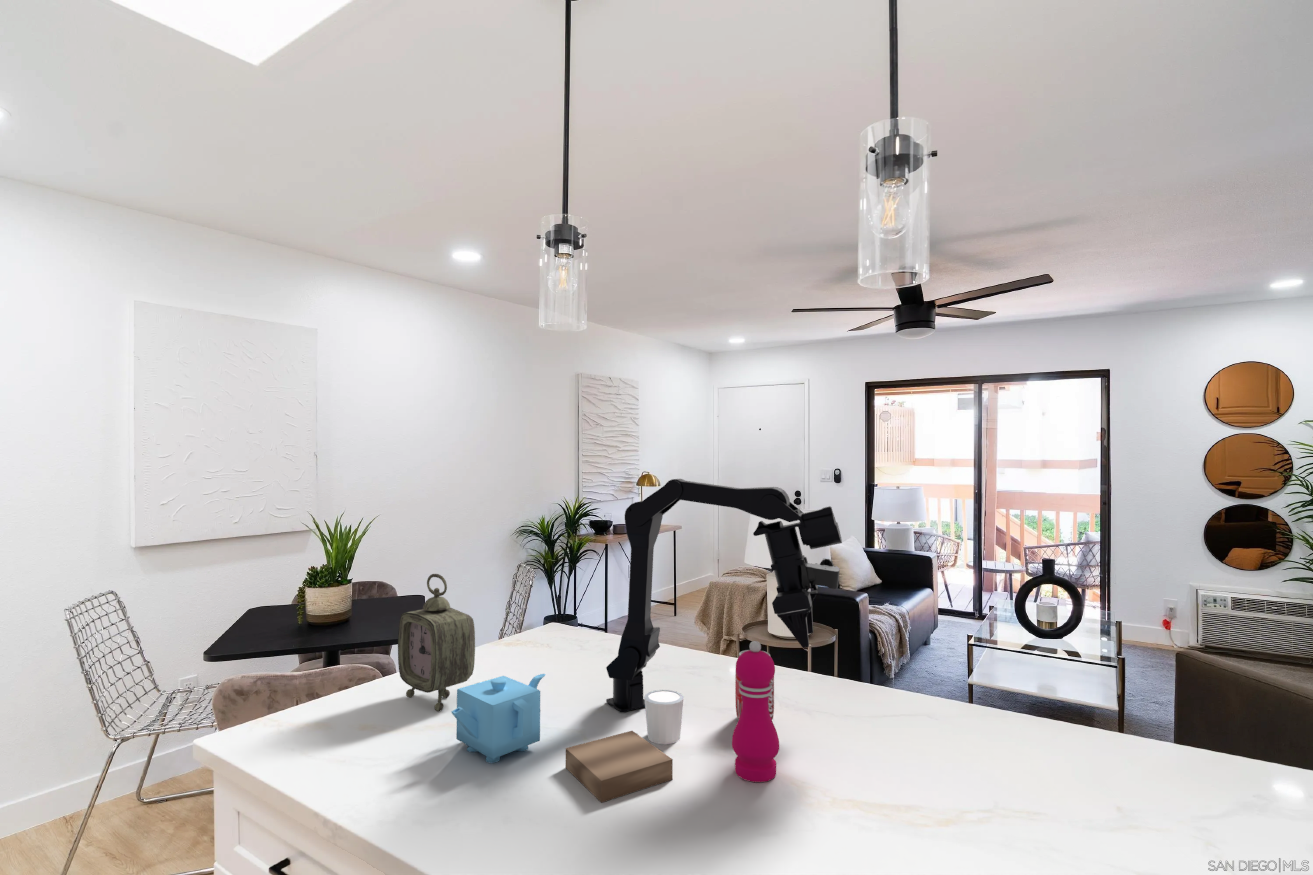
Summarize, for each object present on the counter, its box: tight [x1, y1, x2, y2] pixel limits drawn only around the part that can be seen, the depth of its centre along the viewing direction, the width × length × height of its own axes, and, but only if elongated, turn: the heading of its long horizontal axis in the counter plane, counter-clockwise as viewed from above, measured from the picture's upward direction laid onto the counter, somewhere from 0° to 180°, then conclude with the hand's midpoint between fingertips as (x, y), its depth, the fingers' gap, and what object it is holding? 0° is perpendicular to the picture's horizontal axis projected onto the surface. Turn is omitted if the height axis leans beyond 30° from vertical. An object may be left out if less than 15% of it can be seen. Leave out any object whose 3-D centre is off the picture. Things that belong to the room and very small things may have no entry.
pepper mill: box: [731, 640, 780, 783], centre depth 99 cm, size 7×7×20 cm
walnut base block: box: [565, 730, 674, 803], centre depth 98 cm, size 12×12×3 cm
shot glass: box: [643, 689, 685, 745], centre depth 111 cm, size 7×7×7 cm
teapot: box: [450, 673, 546, 764], centre depth 107 cm, size 16×18×11 cm
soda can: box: [734, 649, 775, 720], centre depth 118 cm, size 7×7×12 cm
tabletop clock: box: [397, 573, 476, 712], centre depth 128 cm, size 14×9×25 cm, turn 49°
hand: (808, 640), depth 116 cm, fingers open, 9 cm apart
